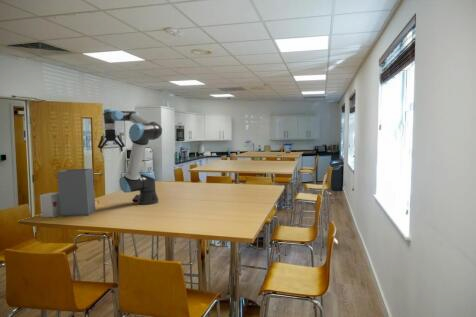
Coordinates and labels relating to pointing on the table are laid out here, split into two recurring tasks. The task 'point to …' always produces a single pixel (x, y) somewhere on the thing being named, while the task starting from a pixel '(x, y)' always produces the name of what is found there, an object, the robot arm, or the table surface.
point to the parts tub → (76, 192)
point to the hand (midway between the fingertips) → (112, 156)
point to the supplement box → (50, 204)
